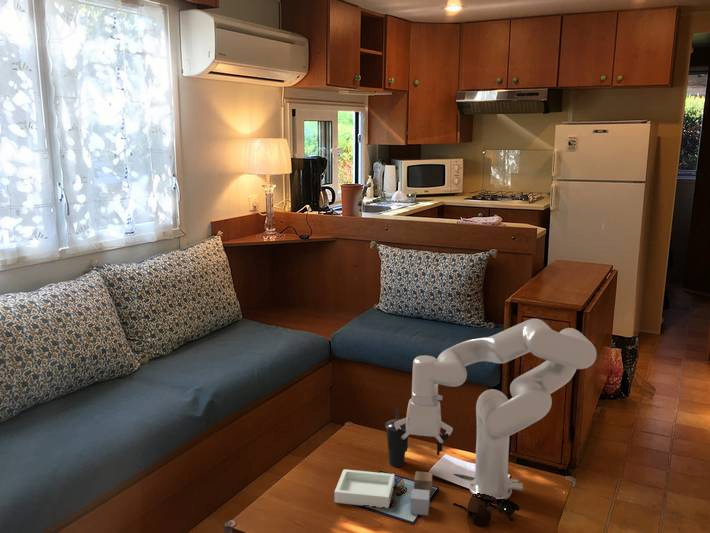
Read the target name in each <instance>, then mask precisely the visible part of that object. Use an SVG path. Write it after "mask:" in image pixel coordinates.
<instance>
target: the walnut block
mask: <svg viewBox="0 0 710 533" xmlns="http://www.w3.org/2000/svg"><path fill="white" fill-rule="evenodd" d="M413 482H414V483H413V489H420V490H430V495H431V496H432V490H433V472H427V471H415V475H414V480H413Z"/></svg>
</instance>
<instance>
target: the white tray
mask: <svg viewBox="0 0 710 533" xmlns="http://www.w3.org/2000/svg"><path fill="white" fill-rule="evenodd" d="M393 487H395V473H387V472H375V471H368V470H367V471H365V470H355V469H347V468H345V469H343V470H342V472H341V474H340V477H339V479H338V482H337V485H336V487H335V489H334V492H333V494H334V500H333V501H334V503H336V504H343V505H344V504H345V505H354V506H363V505H369V506H368V507H372V506H376V507H375V508H382V507H385V508H384V509H389V507H390V504H391V500H392V495H393V492H394V488H393Z"/></svg>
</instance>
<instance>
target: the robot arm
mask: <svg viewBox="0 0 710 533" xmlns="http://www.w3.org/2000/svg"><path fill="white" fill-rule="evenodd" d="M528 353H531V354H532V355H533V356H535V357H537V358H539V359H541V360H545V361H543V362H542V363H540V364H539V365H537V366H536V367H534V368H532V369H530V370H529V371H526V372H525V373H523V374H521V375H519V376H518V377H517V376H516V378H514V379H513V380H512V381H511V383H510V385H509V392H510V395H511V398H510V399H508V397H507V396H506V394H504V393H503V392H502V391H500V390H498V389H493V388H490V389H487V390H485V391H483V392H482V393H481V394H480V395H479V396H478V398H477V400H476V405H475V411H476V412H475V416H476V418H475V419H476V444H475V464H474V465H475V466H474V467H475V468H474V478H473V479H471V480H470V482H469V484H468V487H469V491H470V492H471V494H472V495H473V494H477V493H480V494H486V495H489V496H493V497H495V498H496V499H505V500H507V499H509V498H510V497H511V495H512V494H513V490H517V491H523V489H524V486H523V485H524V484H523V483H521V482H519V479H512V478H510V477H509V473H508V469H509V466H508V465H509V451H510V450H509V449H510V436H512V435H514V434H516V433H518V432H520V431H521V430H524V429H526V428H528V427H530V426H531V425H533V424H535V423H536V422H539V421H540V420H542V419H543V418H544V417H546V416H547V414H548V413H549V412H550V410H551V408H552V403H553V400H552V395H551V394H553V393H554V392H556V391H558V390H559V389H560V388H562V387H564V386H565V385H567V383H569V382H570V381H571V379H572V378H573V377H574V375H575V373H576V371H577V370H584V369H588V368H589V367H591V366H592V365H593V364H594V363H595V362H596V360H597V349H596V347H595V346H594V344H593V343H592V341H590V340H589V339H588V338H587V337H586V336H585V335H584V334H583V333H582V332H580V331H579V330H577V329H575V328H571V327H567V328H564V329H562V330H560V331H559V332H558V331H556V330H553V329H552V328H551V327H550V326H549V325H548V324H547V323H546V322H545V321H544V320H542V319H540V318H530V319H527V320H524V321H523V322H520V323H517V324H516V325H513V326H512V327H509V328H506V329H504V330H503V331H500V332H498V333H496V334H493V335H491V336H490V335H489V336H486V337H485V336H484V337H479V338H474V339H468V340H464V341H462V342H459V343H457V344H455V345H453V346H451V347H449V348H446V349H444V350H442V352H441V353H440V354H439V355H438V357H437V358H436V357H434V356H431V355H428V354H427V355H418V356H416V357H415V358H414V359H413V361H412V375H411V376H412V377H411V378H412V379H411V380H412V381H411V398H410V399H409V400H408V405H407V410H406V417H403V418H401V419H398V421H396V422H395V423H394V426H395V428H396V430H397V433H398V434H399V435H400V436H401V437H402V439H403V445H402V447H403V448H404V452H405V453H406V452H408V449H409V436H410V435H412V436H413V435H415V436H422V437H423V436H424V437H431V438H432V437H434V438H435V439H436V440H437V443H436V444H437V445H436V447H437V448H436V455H437V456H440V453H441V452H443V443H444V442H445V441H447V439H449V437H450V436H451V434H452V433H453V430H454V428H453V427H452V426H450V425H449V424H447V423H445V422H443V421H442V412H441V411H442V408H441V402H440V401H443V395H441V394H439V392H438V391H439V385H440V386H441V385H442V386H445V387H460V386H461V385H463V384H464V383H465V382H466V380H467V376H468V372H467V368H466V367H467V366H470V365H473V364H476V363H479V362H488V363H494V364H500V365H501V364H506V363H508V362H511V361H512V360H514V359H517V358H519V357H521V356H524V355H526V354H528ZM403 424H406V430H405V431H404V430H403V429H402V428H401V427H400V425H403ZM441 429H443V430H445V431H446V432H444V433H443V434H442V433H441Z"/></svg>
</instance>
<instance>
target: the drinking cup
mask: <svg viewBox="0 0 710 533" xmlns="http://www.w3.org/2000/svg"><path fill="white" fill-rule="evenodd" d="M395 408H396V409H395V415H396V416H395V419H390V420H388V421H386V422H385V428H386V429H385V431H386V442H387V454H388V463H389V465H390V466H391V467H394V468H395V467H396V468H400V467H402V466H404V464H405V456H406V452H404V448H403V447H402V445H403V439H402V437H401V436H400V435H399V434H398V433H397V430H396V428H395V426H394V423H395V422H396V421H398V420H399V405H396V406H395ZM400 427H401V428H402V429H403V430H404V431H405V430H406V424H403V425H400Z"/></svg>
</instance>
